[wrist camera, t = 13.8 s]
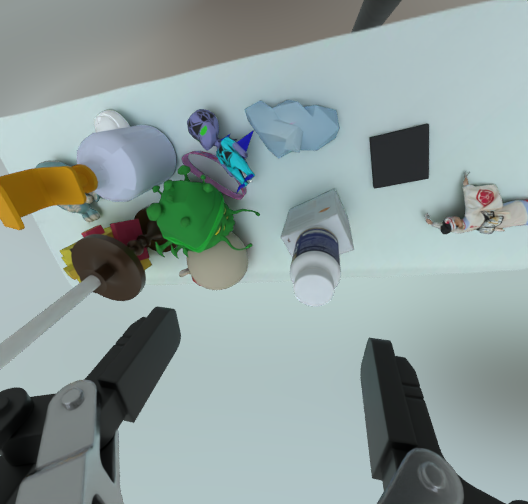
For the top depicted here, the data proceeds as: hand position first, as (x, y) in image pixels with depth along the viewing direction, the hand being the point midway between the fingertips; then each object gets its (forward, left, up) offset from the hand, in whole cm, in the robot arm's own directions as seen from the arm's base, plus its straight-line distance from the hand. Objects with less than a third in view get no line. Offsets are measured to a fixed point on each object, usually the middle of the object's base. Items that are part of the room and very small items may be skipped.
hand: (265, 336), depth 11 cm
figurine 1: (+2, -7, -30) cm, 31 cm away
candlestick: (+13, -27, -34) cm, 46 cm away
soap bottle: (0, -26, -34) cm, 43 cm away
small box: (+8, +2, -34) cm, 35 cm away
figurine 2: (+10, -14, -29) cm, 34 cm away
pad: (-1, +12, -34) cm, 36 cm away
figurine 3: (+4, +24, -34) cm, 42 cm away
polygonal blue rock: (-5, -3, -34) cm, 35 cm away
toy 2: (+12, -14, -25) cm, 31 cm away
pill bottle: (+8, +2, -24) cm, 25 cm away
